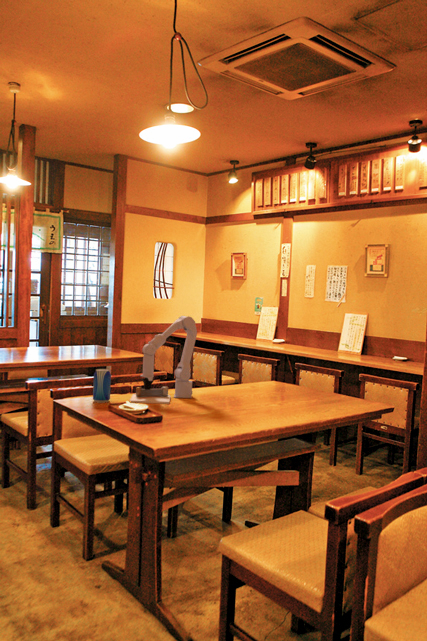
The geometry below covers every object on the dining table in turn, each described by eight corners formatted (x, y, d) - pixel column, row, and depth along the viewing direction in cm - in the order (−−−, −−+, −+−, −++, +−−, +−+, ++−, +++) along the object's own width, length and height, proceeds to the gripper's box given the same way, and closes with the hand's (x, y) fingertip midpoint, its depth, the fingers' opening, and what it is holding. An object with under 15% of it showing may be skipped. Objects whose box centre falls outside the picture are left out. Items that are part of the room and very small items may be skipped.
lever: (167, 394, 270) (167, 386, 270) (168, 396, 267) (169, 387, 267) (135, 395, 265) (135, 386, 264) (136, 396, 261) (136, 388, 261)
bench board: (170, 396, 272) (170, 394, 272) (169, 403, 254) (169, 401, 254) (133, 395, 271) (133, 393, 271) (129, 402, 253) (129, 400, 253)
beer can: (107, 403, 248) (109, 371, 248) (90, 402, 248) (92, 370, 248) (111, 400, 257) (112, 369, 256) (95, 399, 257) (96, 368, 256)
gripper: (138, 364, 272) (137, 389, 272) (143, 368, 258) (142, 394, 259) (151, 364, 274) (150, 389, 275) (157, 368, 261) (155, 394, 261)
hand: (147, 392), depth 267 cm, fingers closed
